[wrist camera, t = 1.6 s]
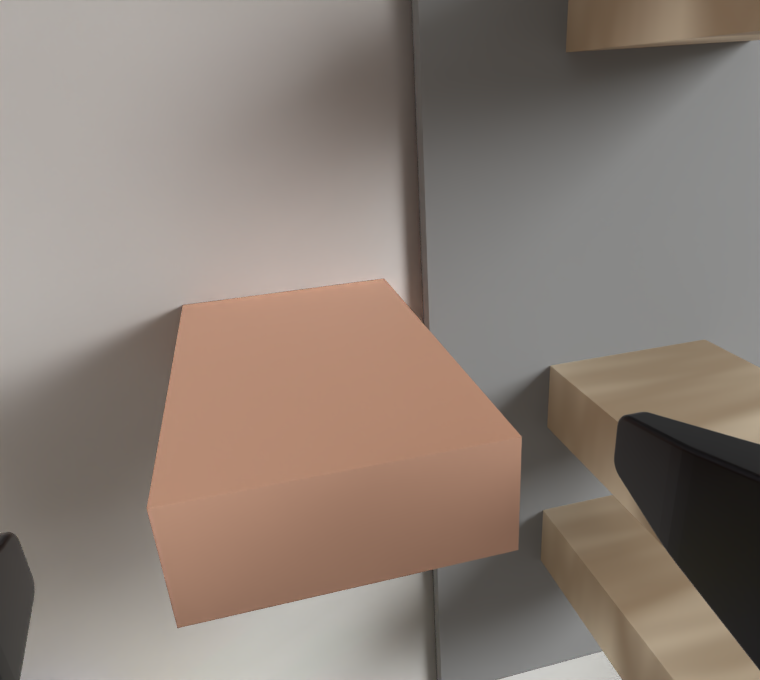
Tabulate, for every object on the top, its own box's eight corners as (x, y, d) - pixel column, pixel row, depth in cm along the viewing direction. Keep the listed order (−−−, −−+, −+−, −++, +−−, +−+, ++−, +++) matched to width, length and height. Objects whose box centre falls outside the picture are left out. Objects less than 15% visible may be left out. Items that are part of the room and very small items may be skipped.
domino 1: (182, 305, 15) (146, 508, 8) (384, 278, 16) (521, 437, 9) (197, 379, 16) (177, 627, 8) (388, 350, 17) (518, 550, 9)
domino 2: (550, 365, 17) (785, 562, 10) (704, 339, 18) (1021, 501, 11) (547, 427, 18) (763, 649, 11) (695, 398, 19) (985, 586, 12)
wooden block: (543, 510, 19) (736, 761, 12) (683, 479, 20) (940, 695, 13) (540, 559, 20) (721, 824, 13) (675, 528, 21) (913, 757, 14)
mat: (998, -673, 12) (1029, -703, 11) (729, 604, 24) (739, 614, 24) (380, -805, 9) (389, -851, 9) (437, 681, 22) (441, 694, 21)
